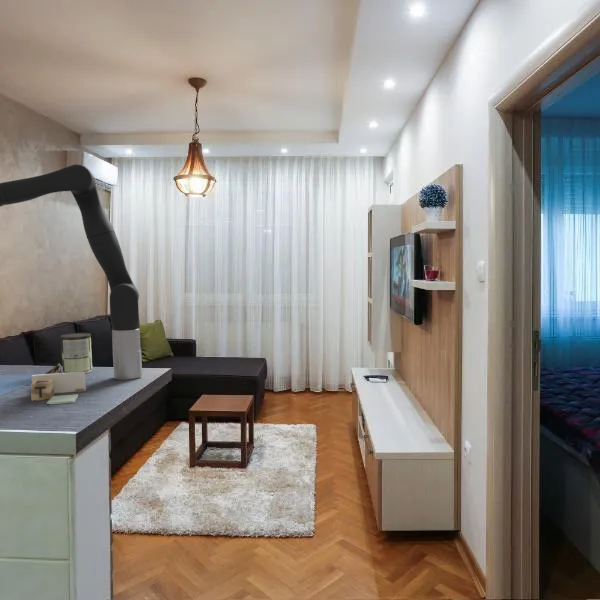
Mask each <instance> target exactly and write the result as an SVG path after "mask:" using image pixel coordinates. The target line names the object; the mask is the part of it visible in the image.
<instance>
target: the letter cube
mask: <svg viewBox="0 0 600 600" xmlns="http://www.w3.org/2000/svg"><path fill="white" fill-rule="evenodd" d="M30 396H31V397H30V398H31V401H32V402H34V401H33V400H36V401H46V400H45V399H49V400H50V399H51V398H52V397H53V396H55V393H54V381H53V379H50V380H36V381H34V382H33V383H32V382H31V383H30Z"/></svg>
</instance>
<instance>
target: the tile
mask: <svg viewBox="0 0 600 600" xmlns="http://www.w3.org/2000/svg"><path fill="white" fill-rule="evenodd" d="M78 397H79V394H65V395H54V396H53V397H52V398H51V399H49V400H47V402H46V405H47V404H50V405H63V404H71V403H73V404H74V403H75V401H76V400H77V399H78Z"/></svg>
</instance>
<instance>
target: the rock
mask: <svg viewBox="0 0 600 600" xmlns="http://www.w3.org/2000/svg"><path fill="white" fill-rule="evenodd" d="M55 373H62V366H61V364H60V363H59V362H58V363H57V365H54V366H53V367H52V368H51V369H49V370H48V371H45V372H44V373H43V374H55Z"/></svg>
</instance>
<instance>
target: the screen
mask: <svg viewBox="0 0 600 600" xmlns="http://www.w3.org/2000/svg"><path fill="white" fill-rule="evenodd" d="M50 379H53V381H54V394H63V393H64V394H65V393H84V392H86V391H87V387H86V373H85V372H70V373H63V372H61V373H55V374H44V373H43V374H40V373H39V374H32V375H31V384H32V383H33V382H34V381H36V380H50Z"/></svg>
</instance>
